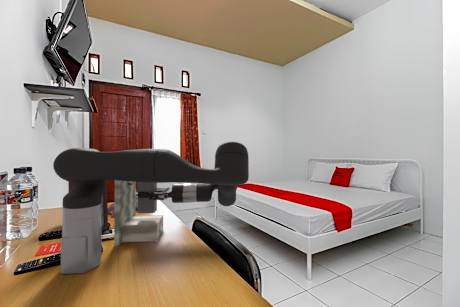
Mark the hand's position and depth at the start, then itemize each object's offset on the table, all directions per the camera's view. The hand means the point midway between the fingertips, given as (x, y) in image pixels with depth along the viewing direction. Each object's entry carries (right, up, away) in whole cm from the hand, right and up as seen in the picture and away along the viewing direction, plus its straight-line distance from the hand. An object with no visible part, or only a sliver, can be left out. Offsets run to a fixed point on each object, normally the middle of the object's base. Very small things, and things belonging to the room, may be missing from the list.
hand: (140, 193), depth 86 cm
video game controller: (-25, -16, +28) cm, 41 cm away
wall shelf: (+1, -16, 0) cm, 16 cm away
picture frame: (-23, -16, 0) cm, 28 cm away
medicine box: (-20, -16, +41) cm, 49 cm away
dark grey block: (+3, -7, 0) cm, 8 cm away
